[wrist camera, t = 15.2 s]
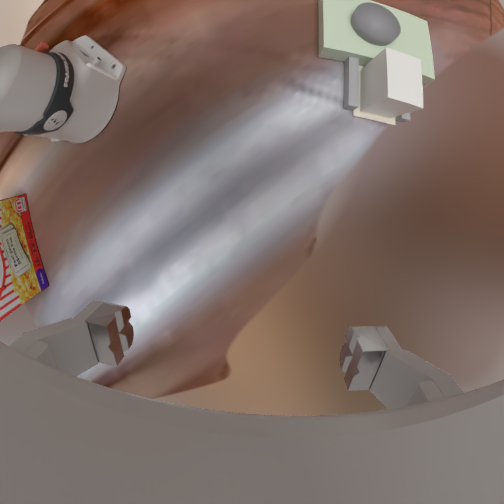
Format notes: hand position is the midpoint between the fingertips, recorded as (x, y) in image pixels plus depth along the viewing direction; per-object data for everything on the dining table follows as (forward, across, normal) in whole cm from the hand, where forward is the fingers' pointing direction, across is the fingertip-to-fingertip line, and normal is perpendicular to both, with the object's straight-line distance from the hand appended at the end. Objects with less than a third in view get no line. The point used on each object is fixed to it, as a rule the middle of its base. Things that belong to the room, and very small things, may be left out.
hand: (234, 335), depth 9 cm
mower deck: (+31, -16, -25) cm, 43 cm away
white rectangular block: (+31, -16, -19) cm, 40 cm away
